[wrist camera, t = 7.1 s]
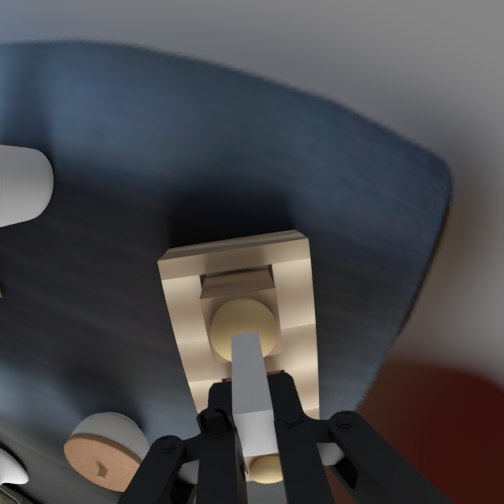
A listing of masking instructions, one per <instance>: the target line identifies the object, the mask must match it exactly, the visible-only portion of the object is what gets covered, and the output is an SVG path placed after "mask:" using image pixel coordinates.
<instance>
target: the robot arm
mask: <svg viewBox="0 0 504 504" xmlns="http://www.w3.org/2000/svg"><path fill="white" fill-rule="evenodd" d="M231 361H232V381H226V382H218V383H213V385H212V386H211V387H210V389H209V393H208V405H207V408H206V409H204V410H202V411H201V412H200V413H199V414H198V416H197V418H196V419H197V422H198V425H199V428H200V430H201V433H200V434H199V435H197V436H195V437H193V438H190V439H186V440H183V441H182V440H181V439H180V438H179V437H177V436H173V435H167V436H163V437H160V438H158V439H157V440H155V442H154V443H153V444H152V446H151V447H150V449H149V451H148V452H147V454H146V456H145V457H144V459H143V461H142V463H141V464H140V466H139V468H138V469H137V471H136V473H135V474H134V476H133V478H132V480H131V481H130V483H129V485H128V486H127V488H126V490H125V491H124V493H123V495H122V496H121V498H120V500H119V501H118V503H117V504H192V503H193V501H194V498H195V496H196V504H248V499H247V486H246V473H245V465H244V461H243V456H244V457H250V456H258V455H265V454H272V453H279V460H280V466H281V471H282V477H283V482H284V487H285V493H286V498H287V504H335V501H334V498H333V495H332V492H331V489H330V485H329V482H328V479H327V476H326V473H325V470H324V466H323V465H329V467H330V469H331V470H332V471H333V473H334V474H335V475H336V477H337V478H338V479H339V481H340V482H341V483H342V485H343V486H344V487H345V489H346V490H347V491H348V492H349V494H350V495H351V496H352V498H353V499H354V500H355V501H356V503H357V504H454V503H452V502H451V501H450V500H449V499H448V498H447V497H446V496H445V495H444V494H442V493H441V492H440V491H439V490H438V489H437V488H436V487H435V486H434V485H433V484H432V483H430V482H429V481H428V480H427V479H426V478H425V477H424V476H423V475H422V474H421V473H420V472H419V471H418V470H416V469H415V468H414V467H413V466H412V465H411V464H410V463H409V462H408V461H407V460H406V459H405V458H404V457H403V456H402V455H401V454H400V453H399V452H397V451H396V450H395V449H394V448H393V447H392V446H391V445H390V444H389V443H388V442H387V441H386V440H385V439H384V438H383V437H382V436H381V435H380V434H379V433H378V432H377V431H376V430H375V429H374V428H373V427H372V426H371V425H370V424H368V422H367V421H366V420H365V419H364V418H362V416H361V415H359V414H358V413H356V412H353V411H341V412H337V413H335V414H334V415H332V416H331V418H330V419H329V420H318V419H313V418H311V417H309V416H307V415H306V414H305V413H304V411H303V408H302V405H301V402H300V398H299V395H298V392H297V389H296V386H295V383H294V379H293V377H292V376H291V375H290V374H288V373H287V372H283V373H277V374H271V375H266V370H265V365H264V360H263V354H262V349H261V344H260V338H259V333H258V331H255V332H248V333H241V334H234V335H231ZM196 493H197V495H196Z"/></svg>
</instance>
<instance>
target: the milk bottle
mask: <svg viewBox="0 0 504 504" xmlns="http://www.w3.org/2000/svg"><path fill="white" fill-rule="evenodd" d="M53 186H54V178H53V171H52V167H51V165H50V162H49V161H48V159H47V158H46V156H45V155H44V154H43V153H42V152H40V151H38V150H36V149H31V148H25V147H18V146H10V145H1V144H0V227H2V226H6V225H10V224H15V223H19V222H23V221H27V220H30V219H33V218H35V217H37V216H39V215H40V214H41V213H42V212H43V211H44V209H45V208H46V206H47V205H48V203H49V201H50V199H51V195H52V192H53Z"/></svg>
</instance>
